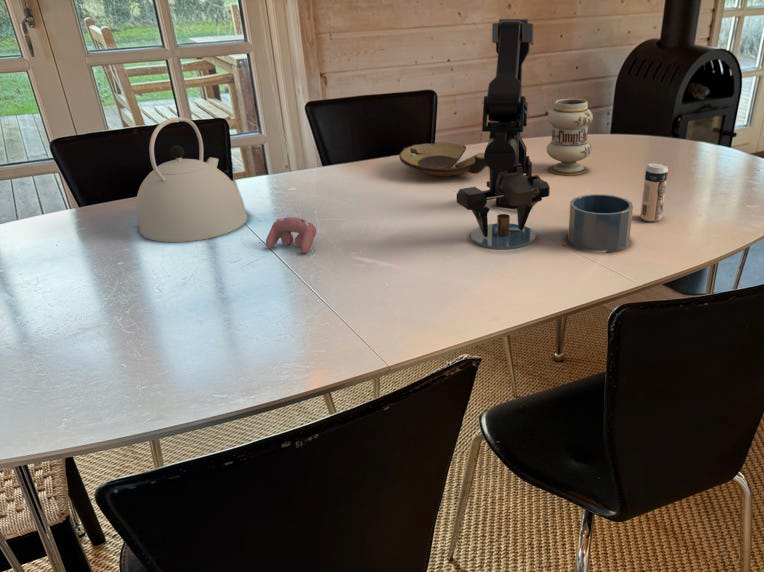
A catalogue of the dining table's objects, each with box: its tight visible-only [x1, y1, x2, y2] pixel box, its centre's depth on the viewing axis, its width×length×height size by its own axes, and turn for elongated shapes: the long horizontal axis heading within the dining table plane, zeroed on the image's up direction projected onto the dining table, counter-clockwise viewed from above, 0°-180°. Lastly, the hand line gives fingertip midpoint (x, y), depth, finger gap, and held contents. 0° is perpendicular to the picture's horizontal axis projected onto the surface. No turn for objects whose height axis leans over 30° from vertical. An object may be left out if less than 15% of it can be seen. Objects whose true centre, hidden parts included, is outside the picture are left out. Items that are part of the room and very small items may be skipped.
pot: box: [567, 193, 634, 254], centre depth 136 cm, size 12×12×8 cm
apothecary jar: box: [546, 98, 594, 176], centre depth 178 cm, size 12×12×18 cm
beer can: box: [639, 162, 669, 223], centre depth 146 cm, size 5×5×12 cm
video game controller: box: [265, 216, 317, 254], centre depth 136 cm, size 10×5×7 cm, turn 71°
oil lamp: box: [398, 142, 487, 177], centre depth 179 cm, size 22×30×8 cm
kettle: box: [135, 116, 248, 243], centre depth 145 cm, size 25×23×23 cm
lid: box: [470, 213, 536, 250], centre depth 138 cm, size 13×13×5 cm
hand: (503, 233), depth 139 cm, fingers open, 8 cm apart
